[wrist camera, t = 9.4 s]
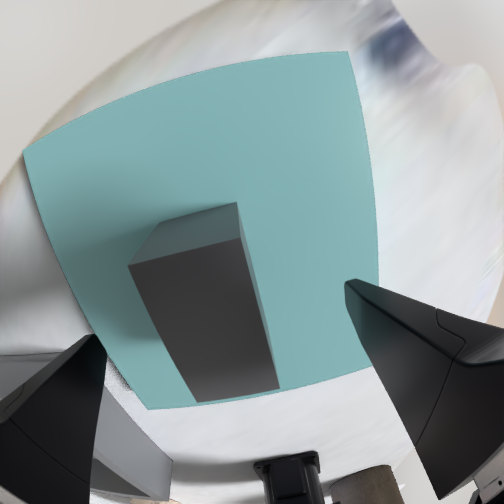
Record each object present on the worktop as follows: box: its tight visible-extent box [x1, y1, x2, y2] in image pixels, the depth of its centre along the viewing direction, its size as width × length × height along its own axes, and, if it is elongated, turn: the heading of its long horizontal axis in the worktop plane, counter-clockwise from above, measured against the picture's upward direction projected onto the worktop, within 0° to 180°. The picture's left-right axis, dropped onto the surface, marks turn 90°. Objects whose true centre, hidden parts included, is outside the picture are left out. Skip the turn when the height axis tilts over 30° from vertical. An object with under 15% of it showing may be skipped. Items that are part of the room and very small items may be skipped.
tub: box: [0, 352, 173, 502], centre depth 17 cm, size 16×14×5 cm
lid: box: [22, 51, 379, 410], centre depth 11 cm, size 17×15×6 cm
